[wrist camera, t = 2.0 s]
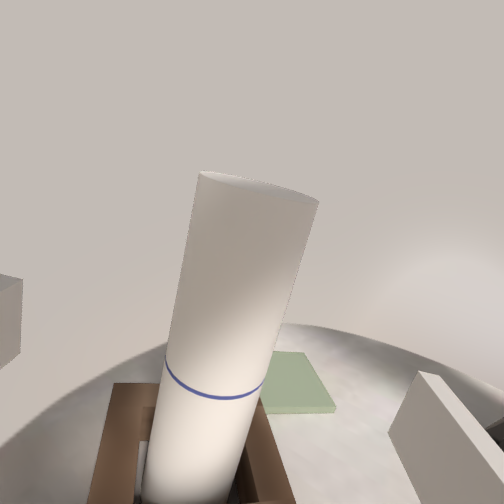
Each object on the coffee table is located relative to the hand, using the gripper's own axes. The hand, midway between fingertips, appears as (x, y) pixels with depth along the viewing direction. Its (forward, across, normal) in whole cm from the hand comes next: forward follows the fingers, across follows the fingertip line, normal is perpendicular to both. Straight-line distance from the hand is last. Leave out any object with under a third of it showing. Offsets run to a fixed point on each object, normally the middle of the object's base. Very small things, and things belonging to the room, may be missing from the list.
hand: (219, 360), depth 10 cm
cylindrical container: (+10, 0, -20) cm, 23 cm away
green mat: (+25, +10, -20) cm, 33 cm away
